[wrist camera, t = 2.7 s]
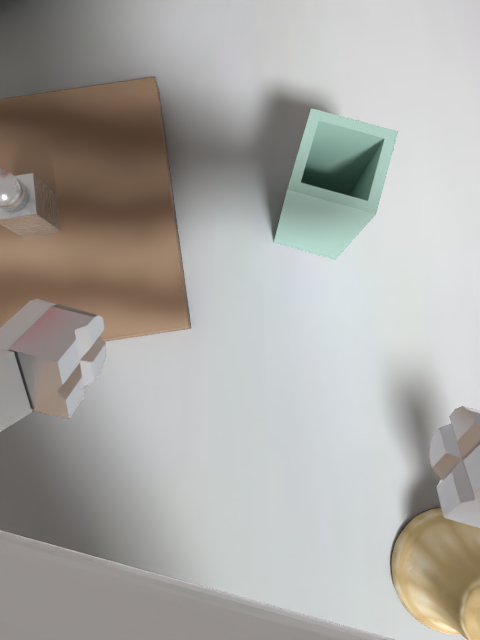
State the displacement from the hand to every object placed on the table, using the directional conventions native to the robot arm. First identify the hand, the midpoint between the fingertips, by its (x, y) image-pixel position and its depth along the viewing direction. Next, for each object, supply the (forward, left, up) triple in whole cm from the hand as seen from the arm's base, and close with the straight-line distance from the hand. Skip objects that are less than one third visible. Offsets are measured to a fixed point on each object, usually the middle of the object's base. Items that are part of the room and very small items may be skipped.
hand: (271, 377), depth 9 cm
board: (+6, +19, -20) cm, 28 cm away
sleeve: (+12, -1, -20) cm, 24 cm away
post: (+6, +19, -18) cm, 27 cm away
